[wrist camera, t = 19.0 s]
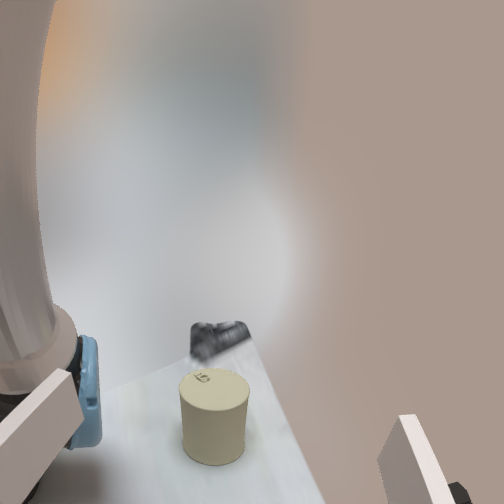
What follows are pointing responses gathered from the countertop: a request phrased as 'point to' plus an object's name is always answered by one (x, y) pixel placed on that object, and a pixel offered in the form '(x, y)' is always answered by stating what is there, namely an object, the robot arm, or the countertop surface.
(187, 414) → the can
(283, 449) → the countertop surface
